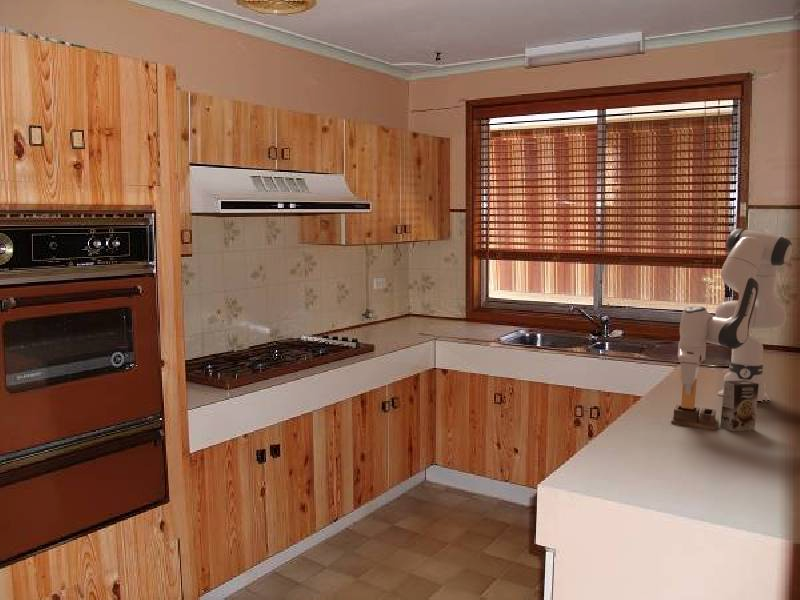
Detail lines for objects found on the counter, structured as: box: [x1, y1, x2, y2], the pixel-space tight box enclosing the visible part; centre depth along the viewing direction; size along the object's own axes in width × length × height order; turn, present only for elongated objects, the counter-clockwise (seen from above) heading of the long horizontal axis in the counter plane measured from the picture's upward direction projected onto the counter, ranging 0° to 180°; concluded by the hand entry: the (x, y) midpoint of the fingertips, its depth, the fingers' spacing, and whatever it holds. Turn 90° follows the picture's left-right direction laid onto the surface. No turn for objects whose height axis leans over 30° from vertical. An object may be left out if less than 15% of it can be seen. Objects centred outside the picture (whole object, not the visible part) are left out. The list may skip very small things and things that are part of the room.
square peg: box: [681, 378, 697, 409], centre depth 247 cm, size 4×4×10 cm
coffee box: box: [720, 380, 759, 432], centre depth 241 cm, size 9×6×16 cm
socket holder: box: [670, 404, 719, 431], centre depth 247 cm, size 12×14×4 cm
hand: (688, 392), depth 247 cm, fingers closed on square peg, 4 cm apart
